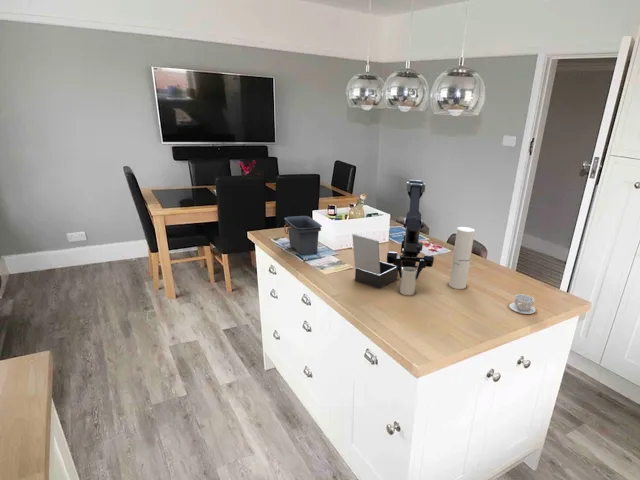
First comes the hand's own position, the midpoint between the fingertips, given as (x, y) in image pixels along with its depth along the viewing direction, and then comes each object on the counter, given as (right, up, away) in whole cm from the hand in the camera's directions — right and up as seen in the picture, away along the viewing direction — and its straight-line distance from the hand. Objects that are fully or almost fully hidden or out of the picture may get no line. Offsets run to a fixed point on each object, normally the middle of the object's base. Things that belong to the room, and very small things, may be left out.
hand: (408, 278), depth 166 cm
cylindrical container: (+22, -3, +14) cm, 26 cm away
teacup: (+44, -12, -3) cm, 46 cm away
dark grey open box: (-13, 0, +14) cm, 19 cm away
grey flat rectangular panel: (-17, +10, +2) cm, 20 cm away
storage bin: (-52, +16, +43) cm, 69 cm away
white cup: (0, -5, +4) cm, 7 cm away
